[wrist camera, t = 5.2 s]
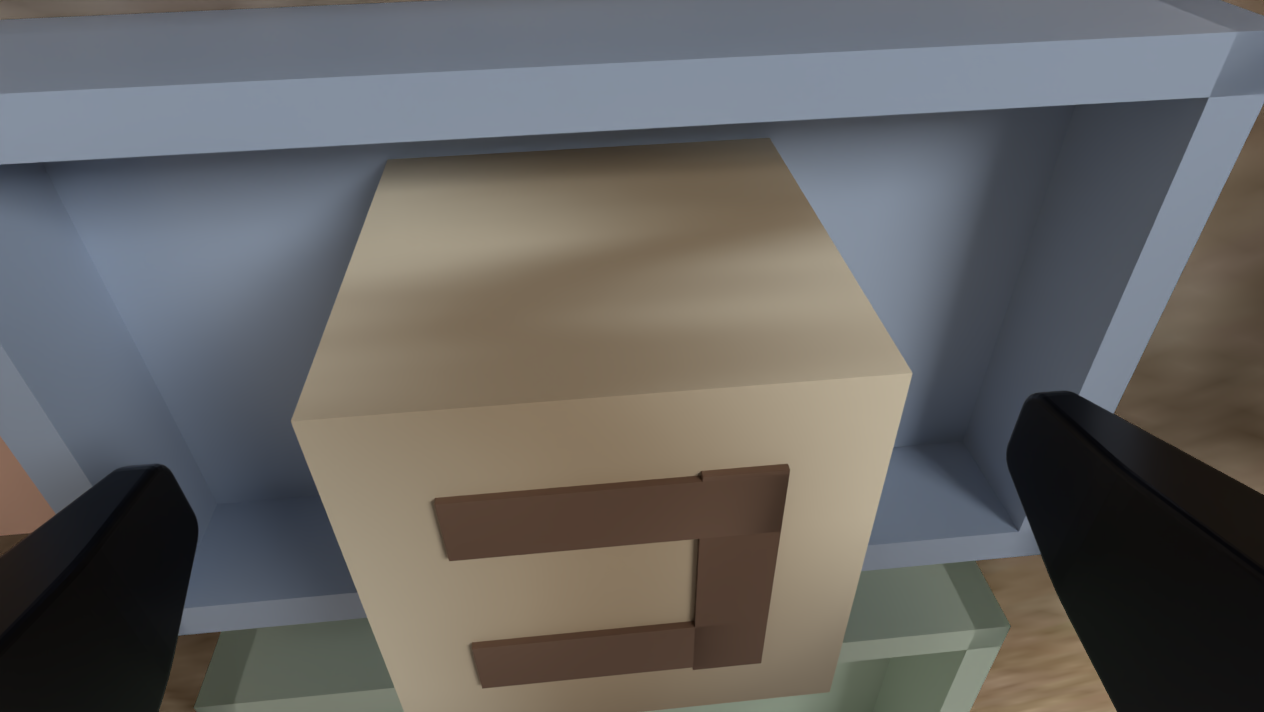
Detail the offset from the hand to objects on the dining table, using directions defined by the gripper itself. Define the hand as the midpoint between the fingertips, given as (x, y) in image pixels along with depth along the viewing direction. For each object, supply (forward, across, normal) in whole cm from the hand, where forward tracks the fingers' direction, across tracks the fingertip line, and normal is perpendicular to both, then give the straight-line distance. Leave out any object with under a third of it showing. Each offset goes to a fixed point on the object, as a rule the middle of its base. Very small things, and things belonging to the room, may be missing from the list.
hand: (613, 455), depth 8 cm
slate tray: (+4, 0, 0) cm, 4 cm away
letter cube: (+3, 0, 0) cm, 3 cm away
